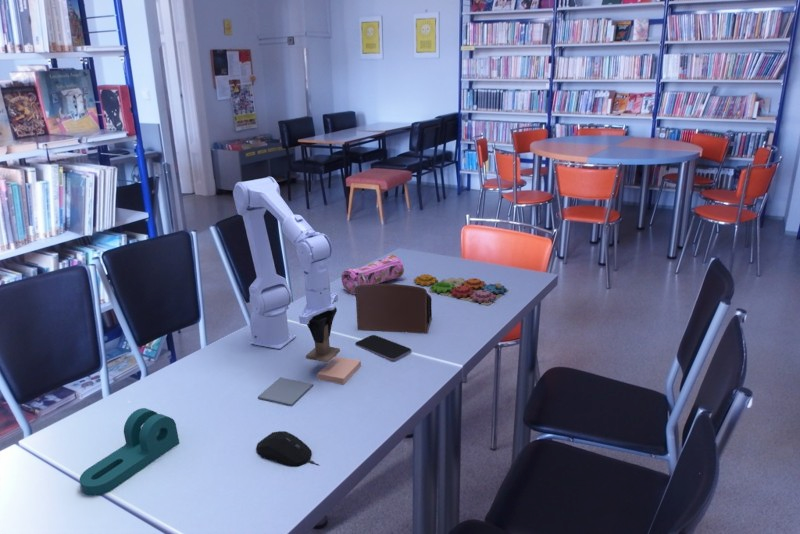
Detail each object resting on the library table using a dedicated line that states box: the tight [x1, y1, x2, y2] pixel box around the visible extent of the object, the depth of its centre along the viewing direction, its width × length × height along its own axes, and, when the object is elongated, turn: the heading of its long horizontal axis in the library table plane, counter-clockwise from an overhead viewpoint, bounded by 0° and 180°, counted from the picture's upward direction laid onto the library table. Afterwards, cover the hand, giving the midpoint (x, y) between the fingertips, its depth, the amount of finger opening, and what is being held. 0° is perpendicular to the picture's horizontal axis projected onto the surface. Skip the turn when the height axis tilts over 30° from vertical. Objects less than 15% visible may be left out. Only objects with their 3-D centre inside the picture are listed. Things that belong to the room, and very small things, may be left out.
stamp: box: [305, 324, 341, 364], centre depth 140 cm, size 6×6×8 cm
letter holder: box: [355, 283, 433, 335], centre depth 163 cm, size 10×20×14 cm, turn 79°
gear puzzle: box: [413, 273, 509, 307], centre depth 189 cm, size 31×16×4 cm, turn 54°
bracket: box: [79, 407, 180, 497], centre depth 109 cm, size 18×7×8 cm, turn 151°
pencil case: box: [340, 254, 405, 296], centre depth 192 cm, size 21×9×9 cm, turn 133°
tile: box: [316, 355, 362, 385], centre depth 140 cm, size 2×9×7 cm
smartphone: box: [354, 334, 412, 362], centre depth 152 cm, size 7×1×15 cm
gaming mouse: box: [255, 430, 321, 468], centre depth 111 cm, size 6×15×4 cm, turn 60°
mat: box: [257, 376, 314, 407], centre depth 133 cm, size 9×9×1 cm
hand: (322, 339), depth 139 cm, fingers closed on stamp, 2 cm apart
